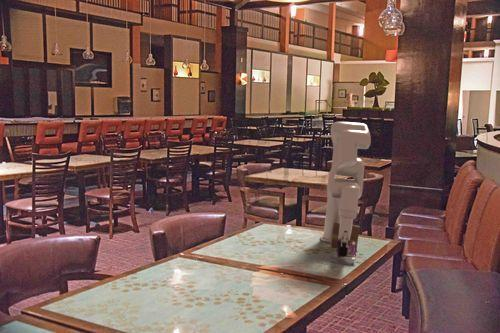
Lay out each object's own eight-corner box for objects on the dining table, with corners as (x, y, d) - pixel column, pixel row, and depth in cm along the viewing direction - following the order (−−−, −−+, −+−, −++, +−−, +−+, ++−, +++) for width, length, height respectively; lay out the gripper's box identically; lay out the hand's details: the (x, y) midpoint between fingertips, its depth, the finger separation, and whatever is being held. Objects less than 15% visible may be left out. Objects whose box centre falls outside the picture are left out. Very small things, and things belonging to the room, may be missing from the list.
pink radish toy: (337, 241, 222) (356, 241, 225) (332, 241, 227) (350, 241, 230) (338, 257, 221) (357, 256, 224) (332, 257, 226) (351, 257, 229)
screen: (331, 246, 247) (333, 222, 246) (356, 250, 245) (359, 225, 244) (330, 248, 245) (333, 223, 244) (356, 251, 243) (359, 226, 242)
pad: (331, 257, 231) (331, 255, 231) (354, 260, 229) (354, 259, 229) (330, 262, 223) (330, 260, 223) (353, 265, 221) (353, 264, 221)
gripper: (339, 208, 232) (335, 247, 234) (338, 216, 216) (333, 258, 218) (356, 210, 231) (352, 250, 233) (356, 218, 214) (351, 260, 216)
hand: (343, 253), depth 225 cm, fingers closed on pink radish toy, 5 cm apart
